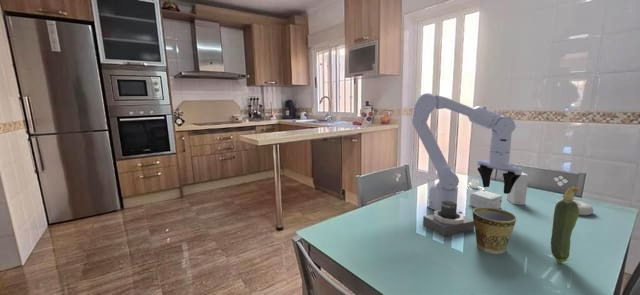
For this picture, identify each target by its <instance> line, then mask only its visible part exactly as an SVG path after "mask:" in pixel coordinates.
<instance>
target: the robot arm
mask: <svg viewBox="0 0 640 295" xmlns="http://www.w3.org/2000/svg"><path fill="white" fill-rule="evenodd" d="M435 109H437V110H442V109H443V110H444V109H446V110H449V111H451V112H455V113H458V114H461V115H463V116H466V117H468V120H469V122H470V123H472V124H476V125H477V126H480V127H482V128H485V129H488V130H489V129H491V138H490V147H489V148H490V149H489V158H488V160H484V159H478V160H477V166H478V167H477V172H478V173H479V176H480V177H481V181H482V185H483V187H482V188H489V187H490V184H491V177H492V173H493V171H494V170H498V171H502V172H503V173H502V178H503V194H505V195H507V194H508V193H510V192H511V189H512V187H513V185H514V183H515V182H516V180H517V179H518V178H519V177H520V175H521V174H522V172H523V168H522V167H517V166H514V165H511V164H510V155H511V146H512V136H513V135H512V133H513V132H515V129H516V128H517V127H516V125H515V120H514V119H513V118H512V117H510V116H505V115H502V112H500V111H497V112H496V111H493V110H489V109H487V106H485V105H481V106H479V105H478V106H475V107H471V106H469V105H466V104H463V103H460V102H458V101H456V100H454V99H450V98H449V97H445V96H441V95H437V94H436V95H434V94H432V93H429V92H427V93H423V94H421V95H420V96H419V97H418V99H417V101H416V102H415V105H414V110H413V115H412V126H413V128H414V129H415V132H416V133H417V135H418V137H419V139H420V141H421V143H422V145H423V146H424V149H425V151H426V153H427V154H428V156H429V159H430V161H431V162H432V164H433V166H434V169H435V171H436V173H437V179H438V182H437V183H433V185H431V186H430V188H429V193H428V194H429V196H428V204H427V205H426V207H428V208H430V209H432V210H433V211H434V212H435V211H437V210H441V205H442V201H451V202H454V203H456V204H457V205H458V192H459V190H458V189H459V186H458V185H459V183H460V180H459V177H458V175H457V174H456V171H455V170H454V169H453V168H452V167H451V166H450V165H449V164H448V162H447V160H446V157H445V156H444V154H443V151H442V150H441V148H440V146H439V145H438V142H437V140H436V139H435V137H434V134H433V133H432V131H431V129H430V127H429V125H428V123H427V122H428V120H429V118H430V115H431V113H432V112H433V111H434V110H435ZM456 212H458V213H460V214H461V213H463V211H462V210H461V209H459V208H457V210H456Z"/></svg>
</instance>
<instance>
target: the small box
mask: <svg viewBox="0 0 640 295" xmlns="http://www.w3.org/2000/svg"><path fill="white" fill-rule="evenodd" d="M502 200H503V196H502V194H499V193H494V192H490V191H487V190H485V189H484V190H482V191H475V192H470V195H469V206H471V207H474V208H477V207H491V208H497V209H501V208H502Z"/></svg>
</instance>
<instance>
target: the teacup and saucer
mask: <svg viewBox="0 0 640 295" xmlns="http://www.w3.org/2000/svg"><path fill="white" fill-rule="evenodd" d="M470 181H471V182H468V185H465V186H464V188H465V189H467V190H469V189H470V190H471V191H473V190H474V191H475V192H477V191H482V190H484V191H485V187H482V186H479V184H480V181H479V179H471V180H470ZM467 186H468V187H471V188H469V189H468V187H467ZM473 188H474V189H473ZM478 188H480V189H478ZM481 188H482V190H481ZM470 190H469V191H470Z"/></svg>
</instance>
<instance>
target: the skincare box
mask: <svg viewBox="0 0 640 295" xmlns="http://www.w3.org/2000/svg"><path fill="white" fill-rule="evenodd" d="M528 181H529V174H528V173H524V172H523V171H522V174H521V175H520V177H519V178H518V179H517V180H516V182H515V183H514V185H513V187H512V189H511V192H510V193H508V194H506V200H507V201H509V202H510V203H511V204H513V205H520V206H521V205H526V200H527V192H528Z"/></svg>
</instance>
